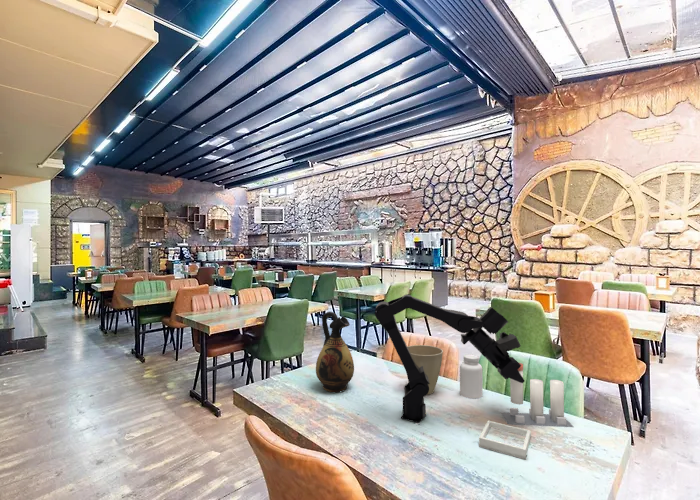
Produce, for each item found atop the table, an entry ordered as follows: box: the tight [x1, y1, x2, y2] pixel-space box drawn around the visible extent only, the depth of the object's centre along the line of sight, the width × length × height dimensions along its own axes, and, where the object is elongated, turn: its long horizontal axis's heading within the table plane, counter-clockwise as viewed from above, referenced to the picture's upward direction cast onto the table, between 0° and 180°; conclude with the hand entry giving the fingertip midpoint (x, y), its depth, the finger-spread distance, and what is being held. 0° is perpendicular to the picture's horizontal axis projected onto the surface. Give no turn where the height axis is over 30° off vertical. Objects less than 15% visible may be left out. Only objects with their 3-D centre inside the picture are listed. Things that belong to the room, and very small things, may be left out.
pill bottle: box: [459, 353, 484, 400], centre depth 130 cm, size 8×8×15 cm
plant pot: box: [407, 344, 444, 396], centre depth 136 cm, size 15×15×16 cm
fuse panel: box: [499, 378, 575, 428], centre depth 110 cm, size 19×8×13 cm, turn 83°
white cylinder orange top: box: [509, 362, 524, 406], centre depth 111 cm, size 4×4×12 cm
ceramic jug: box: [315, 311, 355, 393], centre depth 141 cm, size 17×15×30 cm
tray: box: [478, 420, 532, 460], centre depth 99 cm, size 12×12×2 cm
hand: (521, 379), depth 111 cm, fingers closed on white cylinder orange top, 4 cm apart
